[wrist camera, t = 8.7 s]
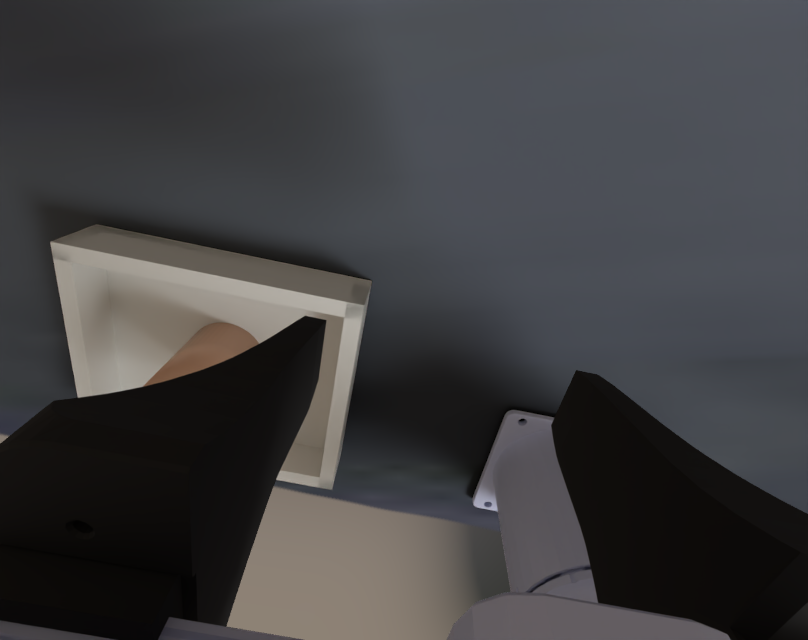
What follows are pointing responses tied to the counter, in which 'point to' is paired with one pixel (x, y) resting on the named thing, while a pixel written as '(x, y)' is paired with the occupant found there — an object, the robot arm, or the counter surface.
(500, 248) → the counter surface
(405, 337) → the counter surface
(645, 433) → the robot arm
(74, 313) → the tray
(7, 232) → the counter surface
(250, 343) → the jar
